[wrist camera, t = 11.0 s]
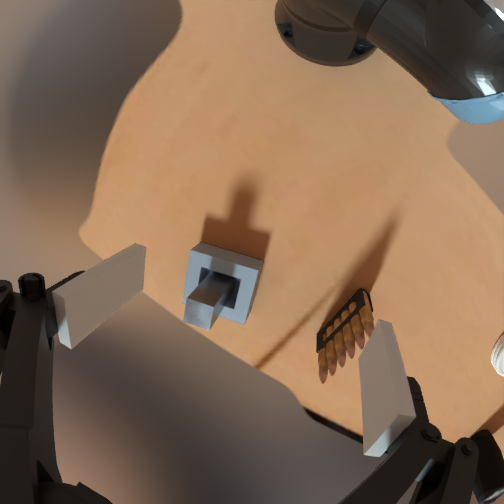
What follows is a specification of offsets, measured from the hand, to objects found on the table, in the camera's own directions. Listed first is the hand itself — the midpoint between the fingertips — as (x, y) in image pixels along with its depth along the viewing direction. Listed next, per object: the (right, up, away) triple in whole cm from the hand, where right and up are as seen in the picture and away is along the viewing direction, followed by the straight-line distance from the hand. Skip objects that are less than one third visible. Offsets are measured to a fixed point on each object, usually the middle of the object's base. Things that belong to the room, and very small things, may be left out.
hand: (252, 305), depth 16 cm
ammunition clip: (+14, -7, +29) cm, 33 cm away
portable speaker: (+56, -44, +32) cm, 78 cm away
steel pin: (-4, -1, +31) cm, 31 cm away
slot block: (-4, -1, +31) cm, 32 cm away
